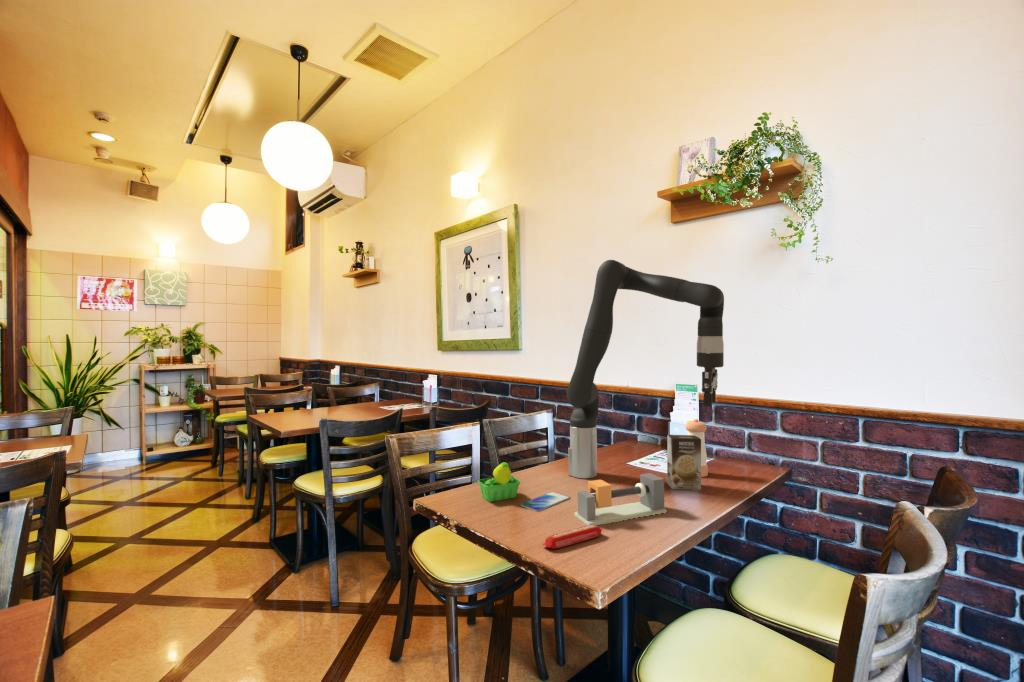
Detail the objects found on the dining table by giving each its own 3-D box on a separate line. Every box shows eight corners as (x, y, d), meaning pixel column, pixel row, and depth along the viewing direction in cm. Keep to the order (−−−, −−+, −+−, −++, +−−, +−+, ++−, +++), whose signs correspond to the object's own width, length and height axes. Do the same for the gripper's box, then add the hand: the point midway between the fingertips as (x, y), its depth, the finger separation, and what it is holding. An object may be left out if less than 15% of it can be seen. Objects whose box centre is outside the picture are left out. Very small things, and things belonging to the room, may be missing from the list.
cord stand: (589, 526, 116) (588, 491, 116) (574, 515, 123) (573, 482, 123) (666, 513, 124) (666, 480, 124) (648, 503, 131) (647, 472, 131)
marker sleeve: (598, 508, 118) (598, 487, 118) (588, 501, 123) (587, 481, 123) (611, 506, 120) (611, 485, 120) (601, 500, 124) (600, 479, 124)
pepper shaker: (683, 470, 163) (682, 417, 163) (704, 471, 162) (703, 417, 162) (688, 476, 156) (687, 421, 156) (710, 477, 155) (709, 421, 155)
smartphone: (571, 497, 136) (538, 510, 126) (571, 499, 136) (538, 513, 126) (552, 491, 142) (519, 503, 131) (552, 493, 142) (519, 506, 131)
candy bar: (594, 532, 113) (594, 520, 113) (604, 538, 110) (604, 525, 110) (540, 547, 105) (540, 534, 105) (549, 554, 102) (549, 540, 102)
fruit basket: (510, 490, 144) (510, 455, 144) (523, 499, 136) (523, 461, 136) (477, 496, 139) (476, 459, 139) (488, 505, 131) (487, 466, 131)
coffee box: (671, 489, 143) (671, 438, 143) (666, 483, 150) (666, 434, 150) (702, 490, 142) (701, 438, 142) (695, 483, 149) (695, 434, 149)
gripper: (700, 350, 147) (700, 400, 147) (692, 351, 134) (692, 406, 135) (726, 350, 143) (725, 402, 143) (720, 352, 131) (720, 408, 131)
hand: (709, 404), depth 139 cm, fingers open, 8 cm apart
